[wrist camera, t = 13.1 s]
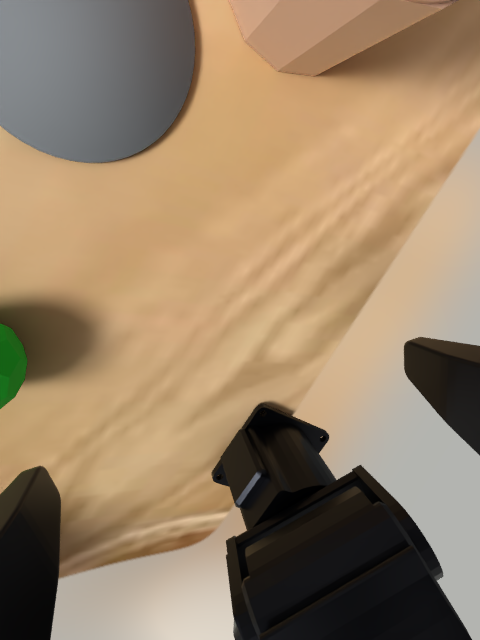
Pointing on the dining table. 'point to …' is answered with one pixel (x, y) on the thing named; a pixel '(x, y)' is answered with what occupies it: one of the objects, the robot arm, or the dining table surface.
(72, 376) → the dining table surface
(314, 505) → the robot arm
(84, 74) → the rubber mat
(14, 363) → the polyhedron
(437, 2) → the cover cup
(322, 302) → the dining table surface
